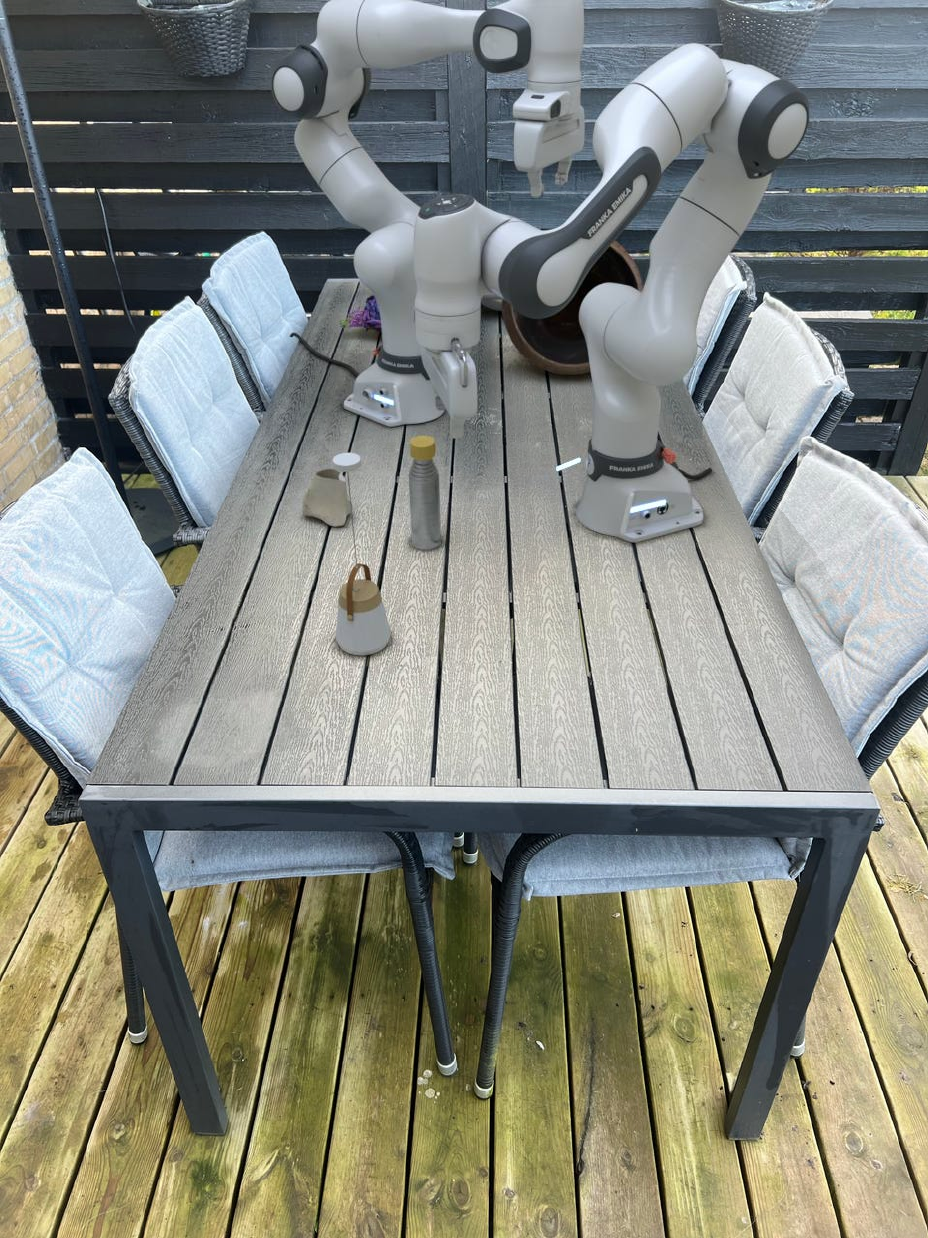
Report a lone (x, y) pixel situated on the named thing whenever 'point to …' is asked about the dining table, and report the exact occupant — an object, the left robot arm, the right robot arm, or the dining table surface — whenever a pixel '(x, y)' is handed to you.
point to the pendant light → (359, 596)
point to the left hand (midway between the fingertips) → (549, 189)
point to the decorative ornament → (366, 317)
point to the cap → (422, 448)
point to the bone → (327, 498)
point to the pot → (568, 319)
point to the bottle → (424, 504)
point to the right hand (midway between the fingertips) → (448, 421)
